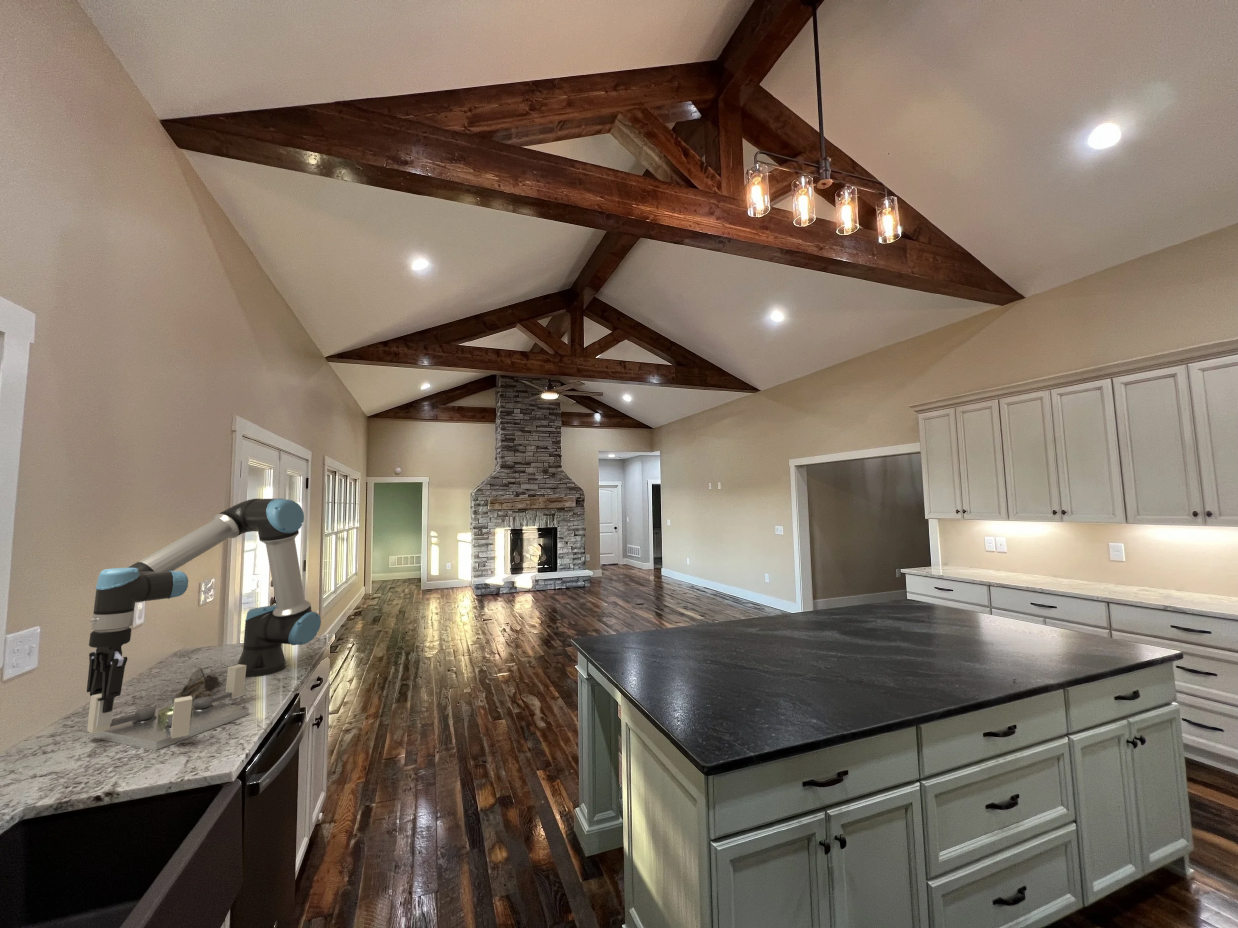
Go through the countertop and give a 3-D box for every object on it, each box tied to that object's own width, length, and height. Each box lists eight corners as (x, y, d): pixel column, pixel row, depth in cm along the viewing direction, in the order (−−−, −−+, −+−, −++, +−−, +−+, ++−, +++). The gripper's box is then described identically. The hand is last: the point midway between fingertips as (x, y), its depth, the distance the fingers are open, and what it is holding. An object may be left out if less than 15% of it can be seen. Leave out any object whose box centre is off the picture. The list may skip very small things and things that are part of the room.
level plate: (189, 705, 149) (191, 685, 150) (247, 714, 143) (249, 694, 144) (91, 737, 127) (94, 714, 128) (155, 750, 121) (158, 726, 122)
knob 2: (166, 723, 130) (170, 689, 131) (186, 718, 133) (190, 685, 134) (169, 739, 121) (173, 702, 122) (190, 734, 124) (194, 698, 125)
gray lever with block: (200, 709, 140) (203, 677, 140) (190, 707, 141) (193, 676, 142) (244, 694, 152) (247, 665, 153) (234, 692, 153) (237, 664, 154)
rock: (207, 699, 152) (197, 668, 153) (166, 715, 149) (157, 684, 149) (234, 684, 169) (225, 656, 170) (198, 698, 166) (189, 670, 166)
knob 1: (150, 713, 136) (154, 681, 137) (157, 716, 134) (161, 683, 135) (86, 730, 125) (90, 695, 126) (92, 733, 123) (97, 698, 124)
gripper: (76, 627, 128) (63, 722, 126) (108, 635, 122) (95, 735, 119) (114, 622, 135) (103, 712, 133) (147, 629, 128) (135, 724, 126)
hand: (99, 723), depth 126 cm, fingers closed on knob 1, 3 cm apart
